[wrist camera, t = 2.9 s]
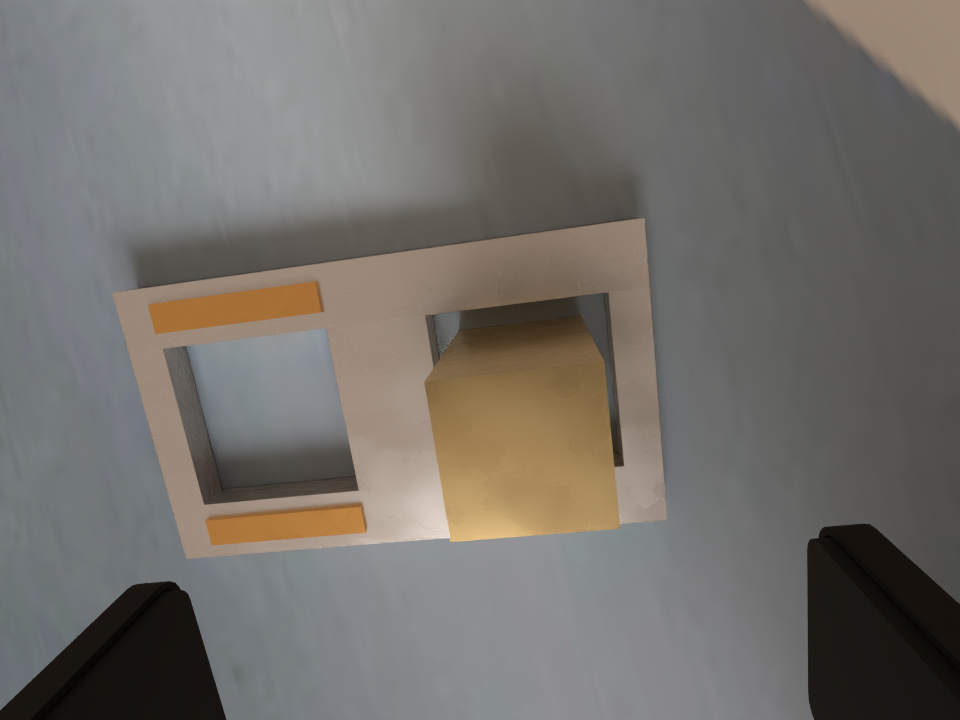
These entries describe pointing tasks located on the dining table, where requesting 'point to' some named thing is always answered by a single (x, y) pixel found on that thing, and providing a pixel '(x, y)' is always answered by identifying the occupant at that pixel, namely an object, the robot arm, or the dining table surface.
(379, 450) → the white flat frame
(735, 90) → the dining table surface
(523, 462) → the brass block
